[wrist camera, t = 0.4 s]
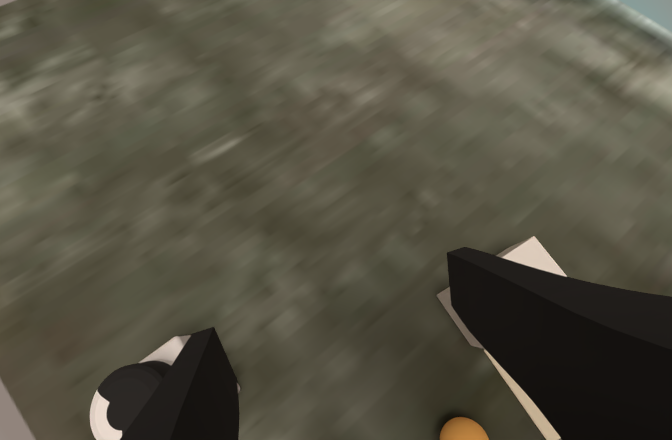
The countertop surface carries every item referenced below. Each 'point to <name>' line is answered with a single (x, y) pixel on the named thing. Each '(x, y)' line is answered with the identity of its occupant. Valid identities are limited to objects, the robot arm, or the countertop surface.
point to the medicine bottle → (131, 391)
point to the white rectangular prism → (521, 253)
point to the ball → (462, 430)
